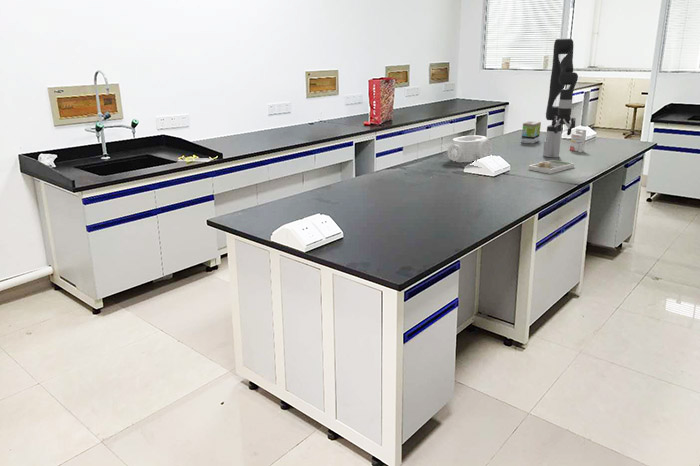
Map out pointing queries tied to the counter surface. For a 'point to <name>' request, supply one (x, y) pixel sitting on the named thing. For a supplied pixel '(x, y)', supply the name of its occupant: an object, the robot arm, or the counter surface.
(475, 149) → the housing
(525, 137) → the tea box
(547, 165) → the beech letter block
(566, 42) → the robot arm
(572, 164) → the divider frame
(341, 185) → the counter surface
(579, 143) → the ink cartridge box
